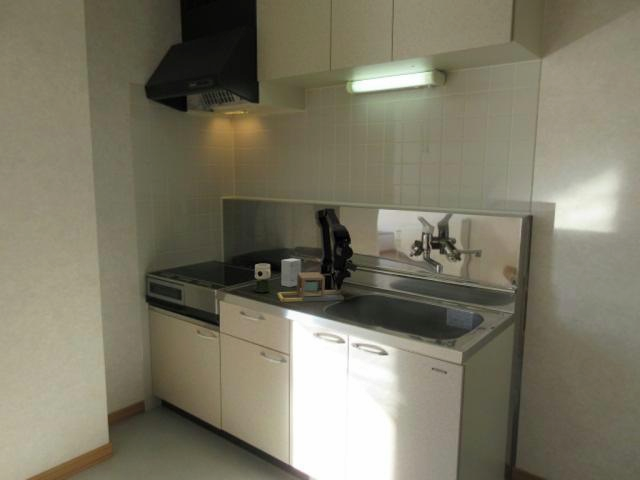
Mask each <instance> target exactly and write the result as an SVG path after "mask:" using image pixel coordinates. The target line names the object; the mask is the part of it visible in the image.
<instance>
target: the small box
mask: <svg viewBox="0 0 640 480" xmlns="http://www.w3.org/2000/svg"><path fill="white" fill-rule="evenodd" d="M280 273H281V275H280V276H281V278H280V279H281V284H280V285H281V286H284V287H289V288H292V287H294V286H295V287H297V273H302V259H299V258H286V259H281V272H280Z"/></svg>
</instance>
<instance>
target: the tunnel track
mask: <svg viewBox="0 0 640 480" xmlns="http://www.w3.org/2000/svg"><path fill="white" fill-rule="evenodd" d="M305 280H316V281H317V288H318V289H319V290H320V288H319V286H320V285H319V283H320V281H321V280H322V289H321V291H322V294H321V296H304V293H305ZM300 288H302V294H301V293H300ZM324 290H325V277H324V276H322V275H321V274H320V273H319V272H317V271H316V272H315V271H314V272H313V271H311V272H304V271H303V272H301V273H297V285H296V291H283V292H281V291H279V292H277V297H278V299H279V300H280V302H281V303H300V302H301V303H302V302H303V303H304V302H322V301H324V302H327V301H328V302H329V301H344V299H345V297H344V295H342V293H340V294H324Z"/></svg>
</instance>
